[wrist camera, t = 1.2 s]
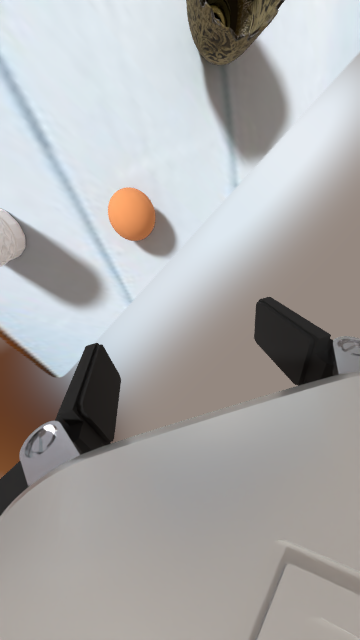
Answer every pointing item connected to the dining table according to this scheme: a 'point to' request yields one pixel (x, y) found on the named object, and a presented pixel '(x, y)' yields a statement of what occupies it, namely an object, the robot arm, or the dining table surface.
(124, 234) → the ball
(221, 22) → the cup
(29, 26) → the dining table surface
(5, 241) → the white cup
